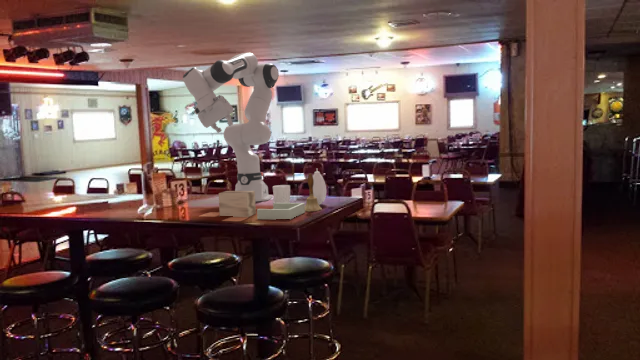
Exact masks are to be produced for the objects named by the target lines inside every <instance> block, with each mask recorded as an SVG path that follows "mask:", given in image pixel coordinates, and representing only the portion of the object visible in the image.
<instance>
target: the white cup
mask: <svg viewBox="0 0 640 360" xmlns="http://www.w3.org/2000/svg"><path fill="white" fill-rule="evenodd" d="M272 192H273V194H272V195H273V203H291V185H290V184H280V185H279V184H278V185H273V186H272Z"/></svg>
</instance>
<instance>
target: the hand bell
mask: <svg viewBox="0 0 640 360" xmlns="http://www.w3.org/2000/svg"><path fill="white" fill-rule="evenodd" d="M312 174H313V173H308V176H307V185H308V188H309V190H308V191H309V192H310V193H308V194H309V196H308V197H307V198H306V203H305V212H319V211H322V209H323V208H322V207H321V205H318V202H317V198H316V197H315V196H314V194H313V184H314V180H313V175H312Z"/></svg>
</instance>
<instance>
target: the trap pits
mask: <svg viewBox="0 0 640 360" xmlns="http://www.w3.org/2000/svg"><path fill="white" fill-rule="evenodd" d="M199 217H200V218H204V217H206V218H207V217H209V218H210V217H212V218H216V217H220V211H217V212H215V211H214V212H213V211H212V212H211V211H209V212H207V213H204V214H201V215H198V218H199ZM249 217H250V216H249ZM249 217H228V218H225V219H222V220H221V222H242V221H245V220H247V219H249Z"/></svg>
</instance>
